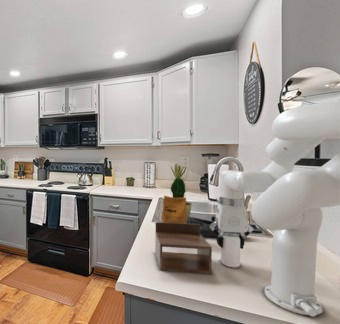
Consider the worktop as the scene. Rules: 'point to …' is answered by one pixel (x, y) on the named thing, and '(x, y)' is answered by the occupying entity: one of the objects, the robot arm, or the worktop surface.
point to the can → (230, 250)
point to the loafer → (204, 226)
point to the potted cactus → (180, 194)
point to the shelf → (182, 238)
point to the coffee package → (174, 210)
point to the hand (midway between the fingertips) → (230, 246)
